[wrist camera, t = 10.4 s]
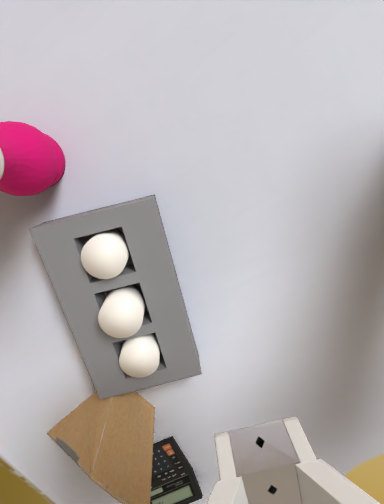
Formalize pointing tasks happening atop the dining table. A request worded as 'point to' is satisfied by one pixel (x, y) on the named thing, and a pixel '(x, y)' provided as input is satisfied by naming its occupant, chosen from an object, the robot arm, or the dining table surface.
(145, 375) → the button container side
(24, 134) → the pepper mill
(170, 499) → the calculator
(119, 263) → the ball
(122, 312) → the button middle
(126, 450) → the sandwich container
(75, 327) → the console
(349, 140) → the dining table surface
